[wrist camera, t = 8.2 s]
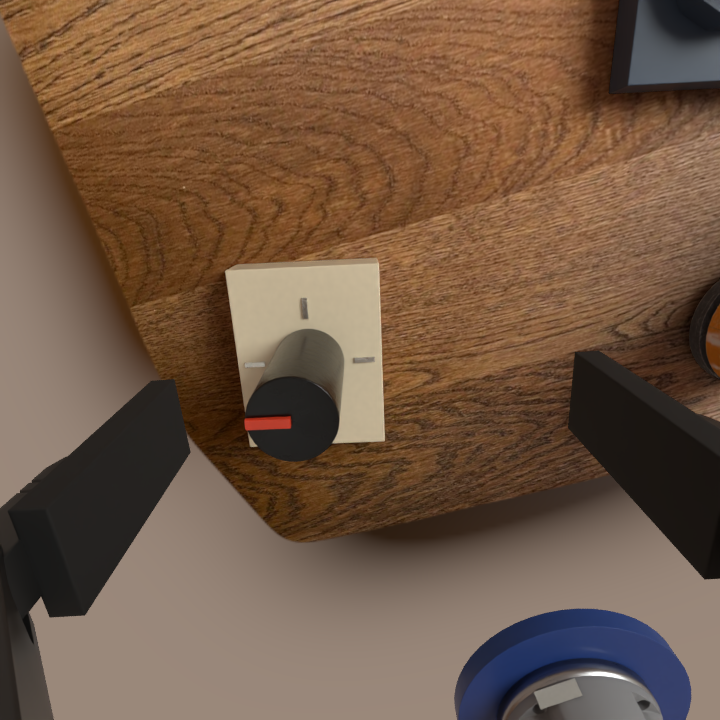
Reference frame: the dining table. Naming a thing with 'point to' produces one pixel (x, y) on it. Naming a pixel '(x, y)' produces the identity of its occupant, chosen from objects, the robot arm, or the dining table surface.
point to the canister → (707, 332)
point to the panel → (314, 311)
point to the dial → (298, 397)
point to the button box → (666, 46)
